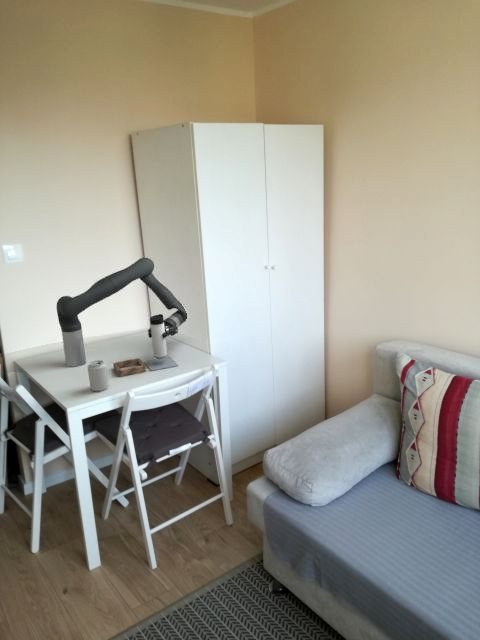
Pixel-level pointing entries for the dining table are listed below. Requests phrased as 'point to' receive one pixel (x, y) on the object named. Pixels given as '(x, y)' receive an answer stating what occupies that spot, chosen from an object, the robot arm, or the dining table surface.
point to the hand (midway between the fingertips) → (156, 336)
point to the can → (98, 375)
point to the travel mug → (158, 336)
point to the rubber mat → (161, 364)
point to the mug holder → (129, 370)
